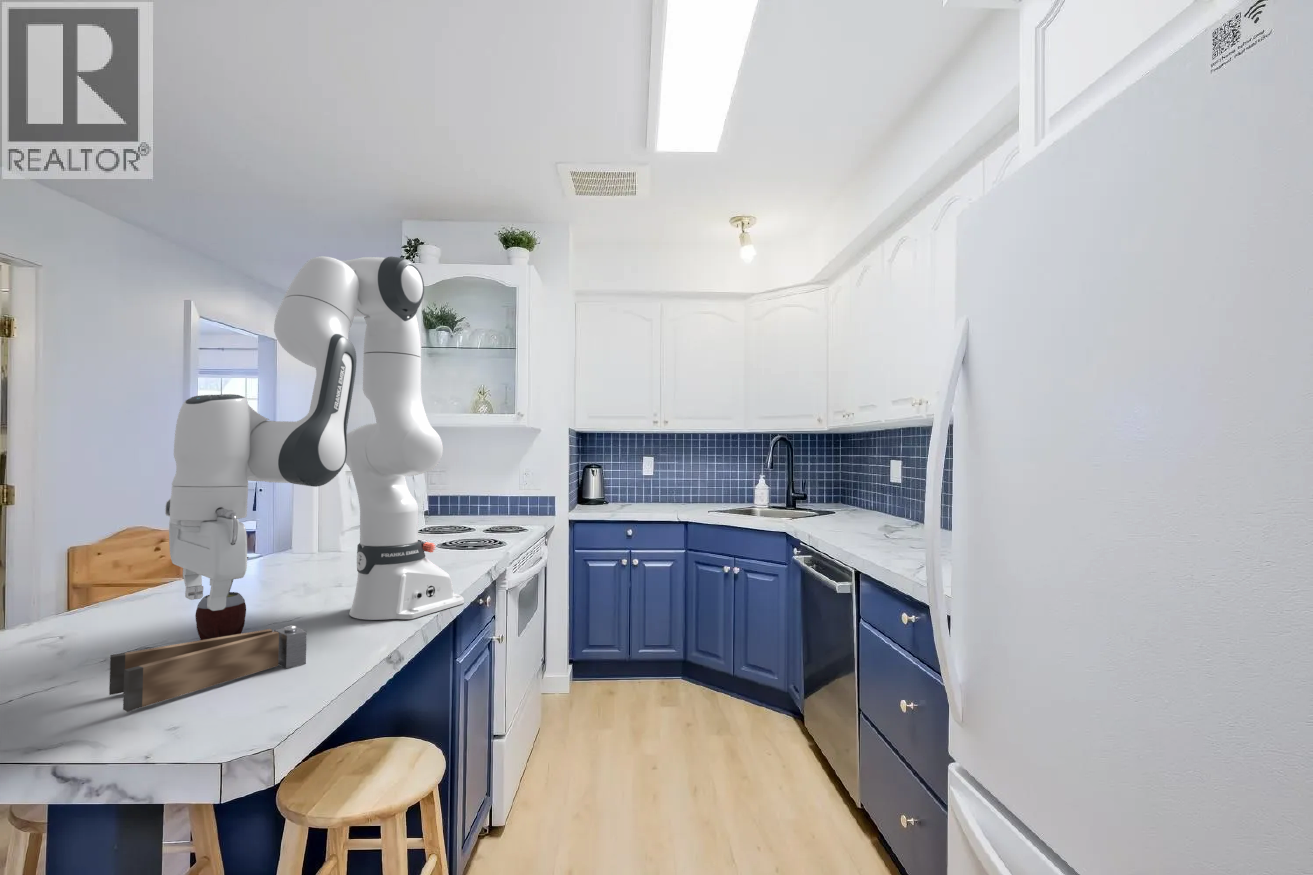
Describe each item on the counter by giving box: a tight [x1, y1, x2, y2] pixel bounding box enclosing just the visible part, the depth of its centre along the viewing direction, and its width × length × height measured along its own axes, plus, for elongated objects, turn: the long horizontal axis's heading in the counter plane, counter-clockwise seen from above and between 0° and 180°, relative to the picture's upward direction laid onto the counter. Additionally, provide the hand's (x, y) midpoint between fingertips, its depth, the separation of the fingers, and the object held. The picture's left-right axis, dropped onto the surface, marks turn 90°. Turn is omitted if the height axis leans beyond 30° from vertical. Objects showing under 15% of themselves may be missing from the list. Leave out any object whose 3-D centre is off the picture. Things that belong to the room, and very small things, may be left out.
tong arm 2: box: [122, 631, 279, 712], centre depth 84 cm, size 18×1×5 cm, turn 152°
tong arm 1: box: [108, 628, 273, 696], centre depth 87 cm, size 18×1×5 cm, turn 132°
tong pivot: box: [273, 624, 307, 670], centre depth 95 cm, size 3×5×6 cm, turn 52°
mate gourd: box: [194, 556, 249, 640], centre depth 105 cm, size 8×8×15 cm
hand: (204, 603), depth 86 cm, fingers open, 8 cm apart
